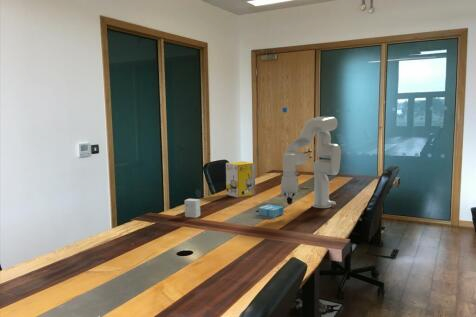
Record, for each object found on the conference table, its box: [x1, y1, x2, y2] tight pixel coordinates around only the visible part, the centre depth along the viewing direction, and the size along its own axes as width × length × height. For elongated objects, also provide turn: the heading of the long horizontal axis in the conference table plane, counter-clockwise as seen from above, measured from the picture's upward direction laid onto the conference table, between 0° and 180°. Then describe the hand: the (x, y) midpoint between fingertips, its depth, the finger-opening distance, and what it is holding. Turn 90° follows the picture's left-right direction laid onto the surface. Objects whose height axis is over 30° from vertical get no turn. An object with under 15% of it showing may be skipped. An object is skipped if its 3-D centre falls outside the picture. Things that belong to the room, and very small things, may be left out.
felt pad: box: [252, 212, 276, 220], centre depth 246 cm, size 13×14×1 cm
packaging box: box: [225, 160, 256, 199], centre depth 310 cm, size 16×16×25 cm
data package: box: [258, 204, 284, 217], centre depth 248 cm, size 12×4×12 cm
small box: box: [183, 198, 201, 218], centre depth 246 cm, size 8×6×10 cm
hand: (289, 203), depth 241 cm, fingers closed
